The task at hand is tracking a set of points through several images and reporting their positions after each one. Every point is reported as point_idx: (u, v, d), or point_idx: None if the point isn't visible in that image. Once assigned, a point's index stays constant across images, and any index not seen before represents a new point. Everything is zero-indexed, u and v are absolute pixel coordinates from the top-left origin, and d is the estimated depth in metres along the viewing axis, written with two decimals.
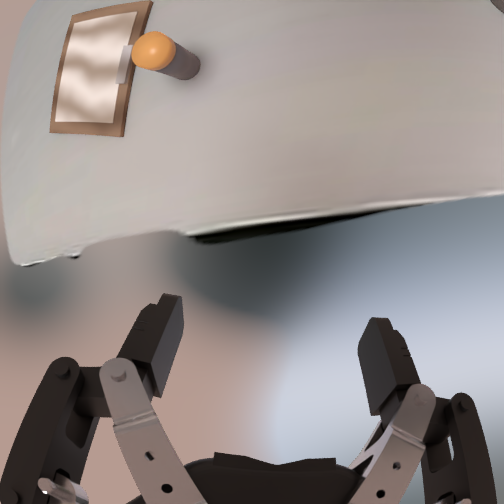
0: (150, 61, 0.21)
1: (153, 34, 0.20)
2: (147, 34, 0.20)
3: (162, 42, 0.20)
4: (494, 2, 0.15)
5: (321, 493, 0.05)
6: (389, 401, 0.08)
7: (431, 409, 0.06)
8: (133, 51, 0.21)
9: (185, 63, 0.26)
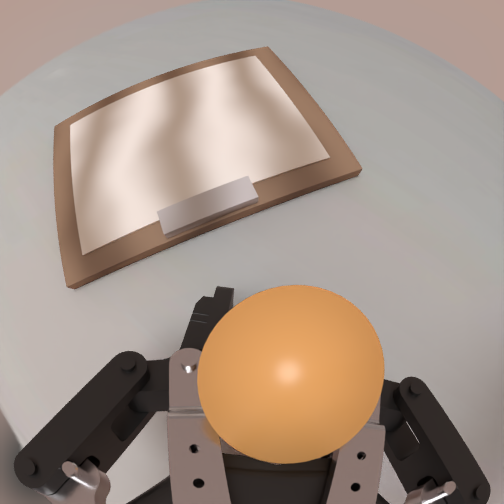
0: (245, 425, 0.05)
1: (365, 346, 0.06)
2: (355, 317, 0.06)
3: (346, 413, 0.05)
4: None
5: (321, 493, 0.05)
6: None
7: None
8: (253, 308, 0.06)
9: None
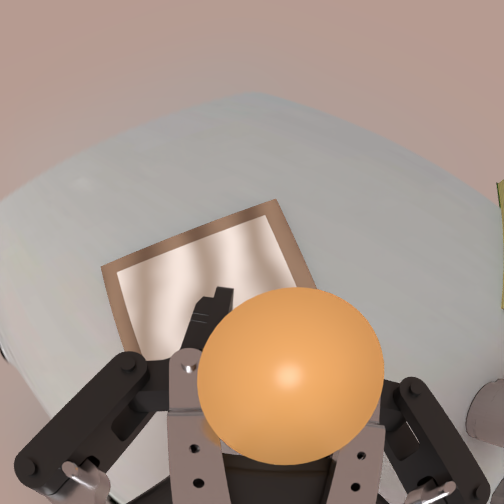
0: (244, 426, 0.05)
1: (365, 348, 0.06)
2: (355, 319, 0.06)
3: (345, 414, 0.05)
4: (494, 495, 0.19)
5: (321, 493, 0.05)
6: None
7: None
8: (253, 310, 0.06)
9: None
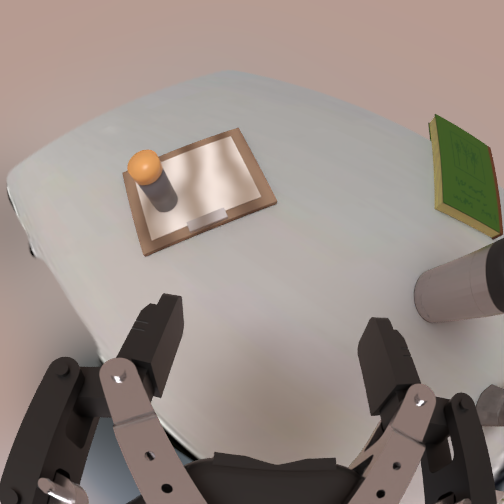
0: (133, 170, 0.32)
1: (155, 158, 0.32)
2: (154, 154, 0.32)
3: (149, 168, 0.32)
4: None
5: (321, 493, 0.05)
6: (389, 401, 0.08)
7: (431, 409, 0.06)
8: (138, 153, 0.32)
9: (155, 197, 0.37)
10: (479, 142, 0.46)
